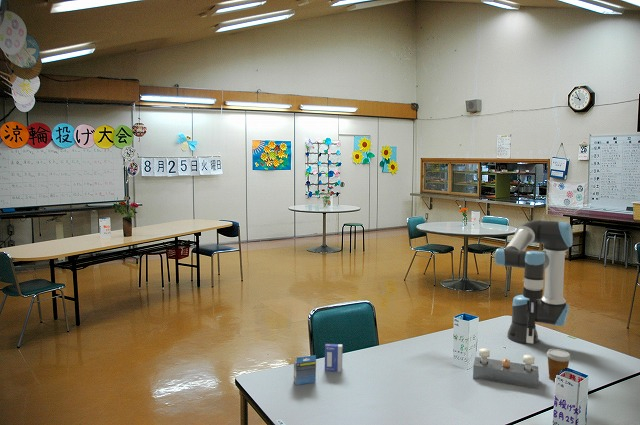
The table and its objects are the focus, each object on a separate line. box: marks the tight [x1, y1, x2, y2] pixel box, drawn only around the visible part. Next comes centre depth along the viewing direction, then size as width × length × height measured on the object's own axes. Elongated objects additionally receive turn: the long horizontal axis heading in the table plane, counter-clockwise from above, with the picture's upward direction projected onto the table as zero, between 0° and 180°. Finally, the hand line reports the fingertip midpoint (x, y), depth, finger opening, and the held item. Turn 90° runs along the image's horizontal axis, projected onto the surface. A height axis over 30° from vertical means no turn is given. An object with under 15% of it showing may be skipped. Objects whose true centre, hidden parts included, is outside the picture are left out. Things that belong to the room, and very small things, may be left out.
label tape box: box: [293, 354, 317, 386], centre depth 210 cm, size 9×4×12 cm, turn 109°
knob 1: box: [478, 347, 491, 364], centre depth 218 cm, size 4×4×8 cm
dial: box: [501, 358, 511, 367], centre depth 214 cm, size 3×3×3 cm
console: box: [472, 356, 540, 391], centre depth 215 cm, size 10×26×6 cm, turn 68°
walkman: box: [324, 343, 344, 373], centre depth 222 cm, size 8×3×12 cm, turn 85°
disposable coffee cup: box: [546, 348, 572, 382], centre depth 215 cm, size 10×10×12 cm
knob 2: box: [522, 354, 536, 371], centre depth 211 cm, size 4×4×8 cm
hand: (529, 342), depth 209 cm, fingers closed
